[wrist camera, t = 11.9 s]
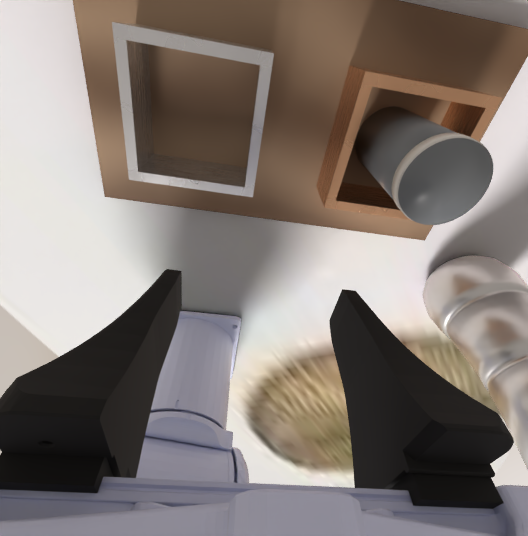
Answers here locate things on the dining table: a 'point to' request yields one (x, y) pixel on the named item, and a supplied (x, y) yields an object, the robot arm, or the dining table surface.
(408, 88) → the copper collar
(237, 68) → the walnut board
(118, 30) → the steel collar
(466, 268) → the plastic bottle
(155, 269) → the dining table surface
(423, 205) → the grey domed cylinder
